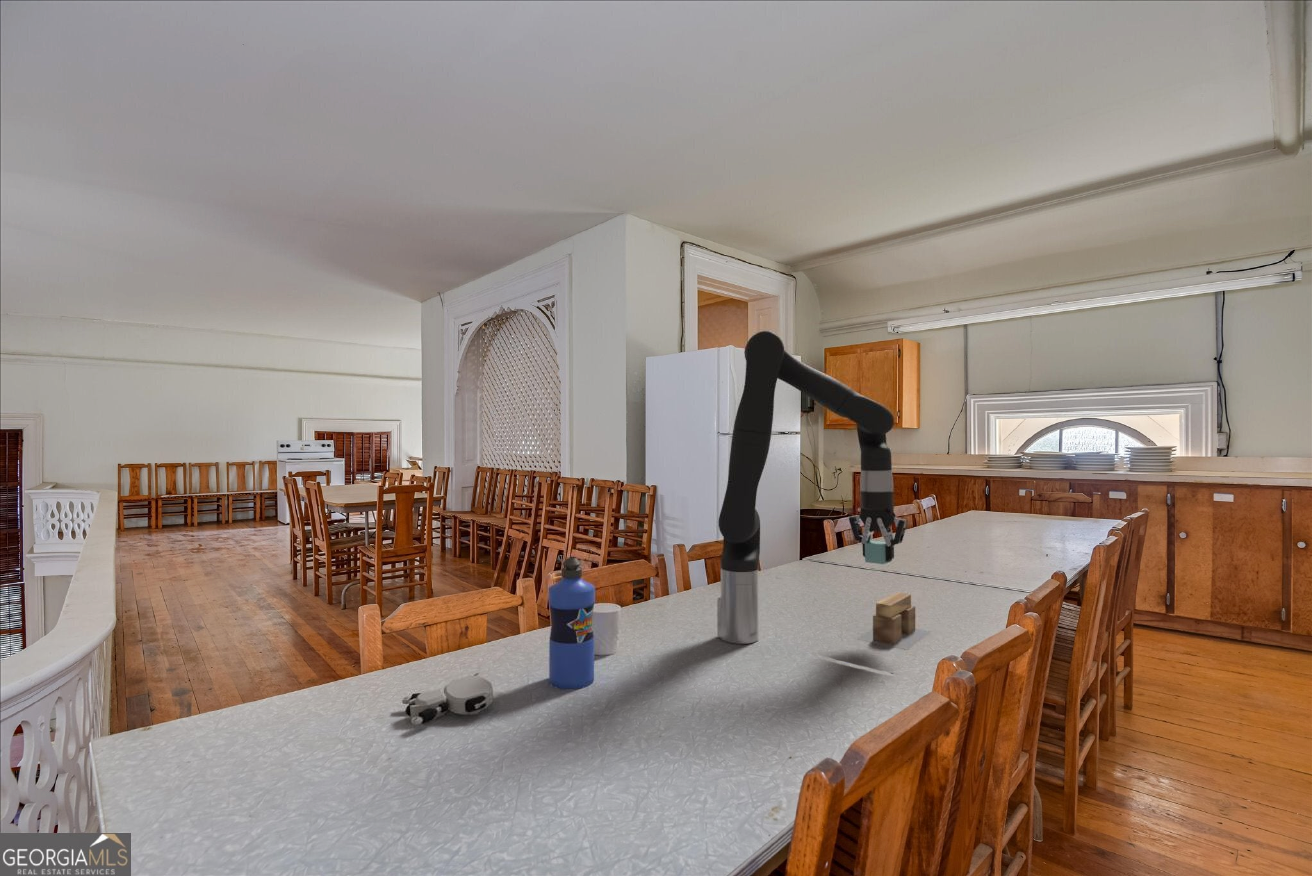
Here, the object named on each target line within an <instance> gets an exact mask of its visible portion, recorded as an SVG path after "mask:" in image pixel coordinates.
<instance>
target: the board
mask: <svg viewBox="0 0 1312 876" xmlns="http://www.w3.org/2000/svg"><path fill="white" fill-rule="evenodd" d="M931 633H932V631H930V630H926V629H921V628H916V627H915V631H913V632H912V633H911V634H909V635H907V634H902V633H901V640H900V641H899V642H897V643H896V644H895V645H892V644H887V643H882V642H878V641H873V628H872V629H870V630H869V631H867V632H866V633H863V634H862V635H860V636H858V637H857V638H856V640H859V641H863V642H867V643H873V644H877V645H881V646H886V647H890V648H895V649H900V650H905V651H907V650H909V649H910V648H912V647H913V646H914V645H916V644H917V643H919V642H920V641H921V640H923V639H924V638H925V637H927V636H928V635H929V634H931Z"/></svg>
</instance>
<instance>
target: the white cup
mask: <svg viewBox="0 0 1312 876" xmlns="http://www.w3.org/2000/svg"><path fill="white" fill-rule="evenodd" d="M621 614H622V607H621V606H620V605H618V604H616V603H610V602H607V603H606V602H604V603H603V602H600V603H594V608H593V617H592V627H593V635H594V656H596V655H597V656H610V655H613V654H616V653H618V652H619V648H620V646H619V645H620V631H621Z"/></svg>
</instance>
